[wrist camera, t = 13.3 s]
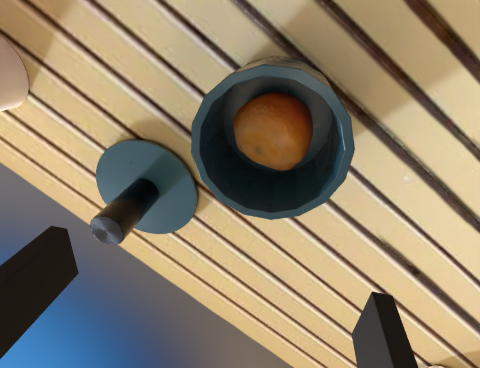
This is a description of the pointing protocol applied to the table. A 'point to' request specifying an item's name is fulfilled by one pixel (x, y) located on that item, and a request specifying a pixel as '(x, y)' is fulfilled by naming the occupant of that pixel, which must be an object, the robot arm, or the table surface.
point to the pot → (259, 176)
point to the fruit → (274, 130)
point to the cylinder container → (11, 78)
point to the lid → (142, 191)
